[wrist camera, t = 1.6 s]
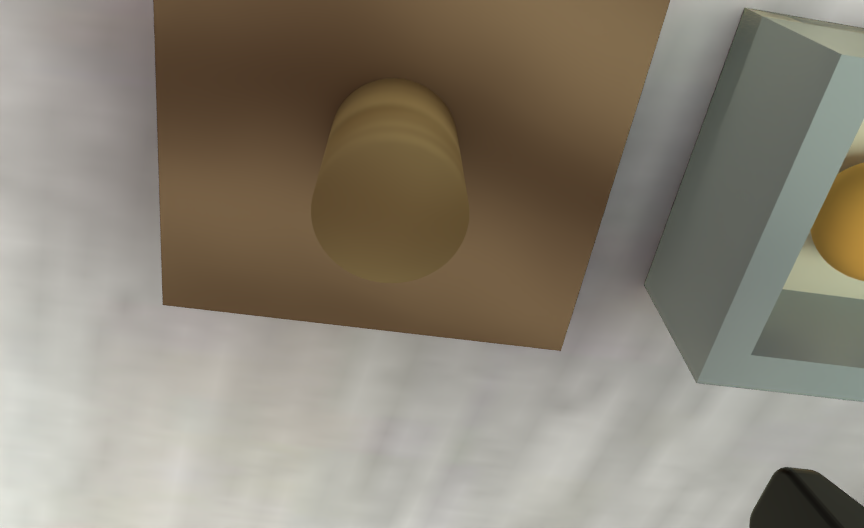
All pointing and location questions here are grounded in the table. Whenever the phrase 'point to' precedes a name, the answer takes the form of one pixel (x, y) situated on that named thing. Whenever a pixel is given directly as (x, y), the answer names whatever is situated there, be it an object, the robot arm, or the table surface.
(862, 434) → the table surface
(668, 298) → the grey square box
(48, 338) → the table surface
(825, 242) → the clementine
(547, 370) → the table surface
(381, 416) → the table surface
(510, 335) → the walnut lid
